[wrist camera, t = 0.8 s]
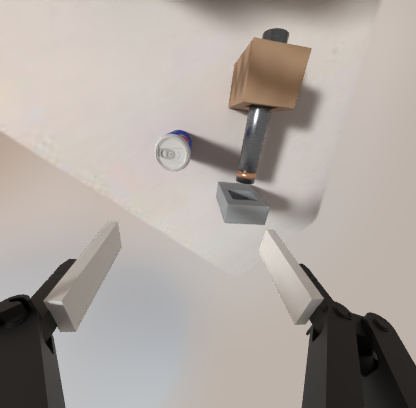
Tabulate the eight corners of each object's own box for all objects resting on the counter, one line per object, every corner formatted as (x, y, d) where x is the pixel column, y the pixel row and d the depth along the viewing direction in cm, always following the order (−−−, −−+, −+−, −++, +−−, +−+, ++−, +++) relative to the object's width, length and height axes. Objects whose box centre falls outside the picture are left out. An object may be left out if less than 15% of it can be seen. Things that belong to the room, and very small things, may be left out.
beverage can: (192, 132, 35) (193, 137, 22) (190, 156, 37) (188, 175, 24) (168, 127, 34) (153, 130, 21) (166, 152, 37) (152, 170, 23)
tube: (258, 38, 25) (268, 25, 22) (281, 43, 25) (294, 31, 22) (233, 177, 34) (238, 183, 31) (250, 179, 35) (256, 184, 32)
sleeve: (234, 64, 31) (254, 37, 21) (274, 71, 32) (311, 48, 22) (228, 107, 34) (243, 101, 24) (265, 112, 35) (294, 108, 25)
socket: (218, 181, 41) (228, 204, 29) (249, 184, 42) (270, 206, 30) (216, 196, 42) (224, 223, 31) (245, 198, 43) (264, 224, 32)
